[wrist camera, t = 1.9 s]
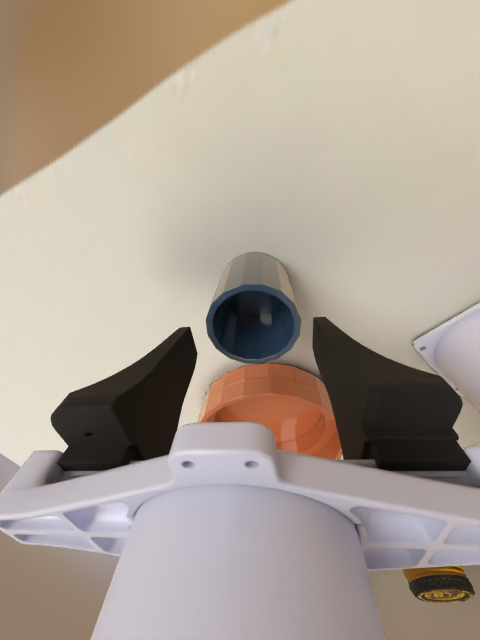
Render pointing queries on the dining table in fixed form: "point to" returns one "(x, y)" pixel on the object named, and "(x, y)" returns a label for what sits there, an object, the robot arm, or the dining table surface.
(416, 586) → the condiment
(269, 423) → the clay bowl
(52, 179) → the dining table surface
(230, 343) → the cup
